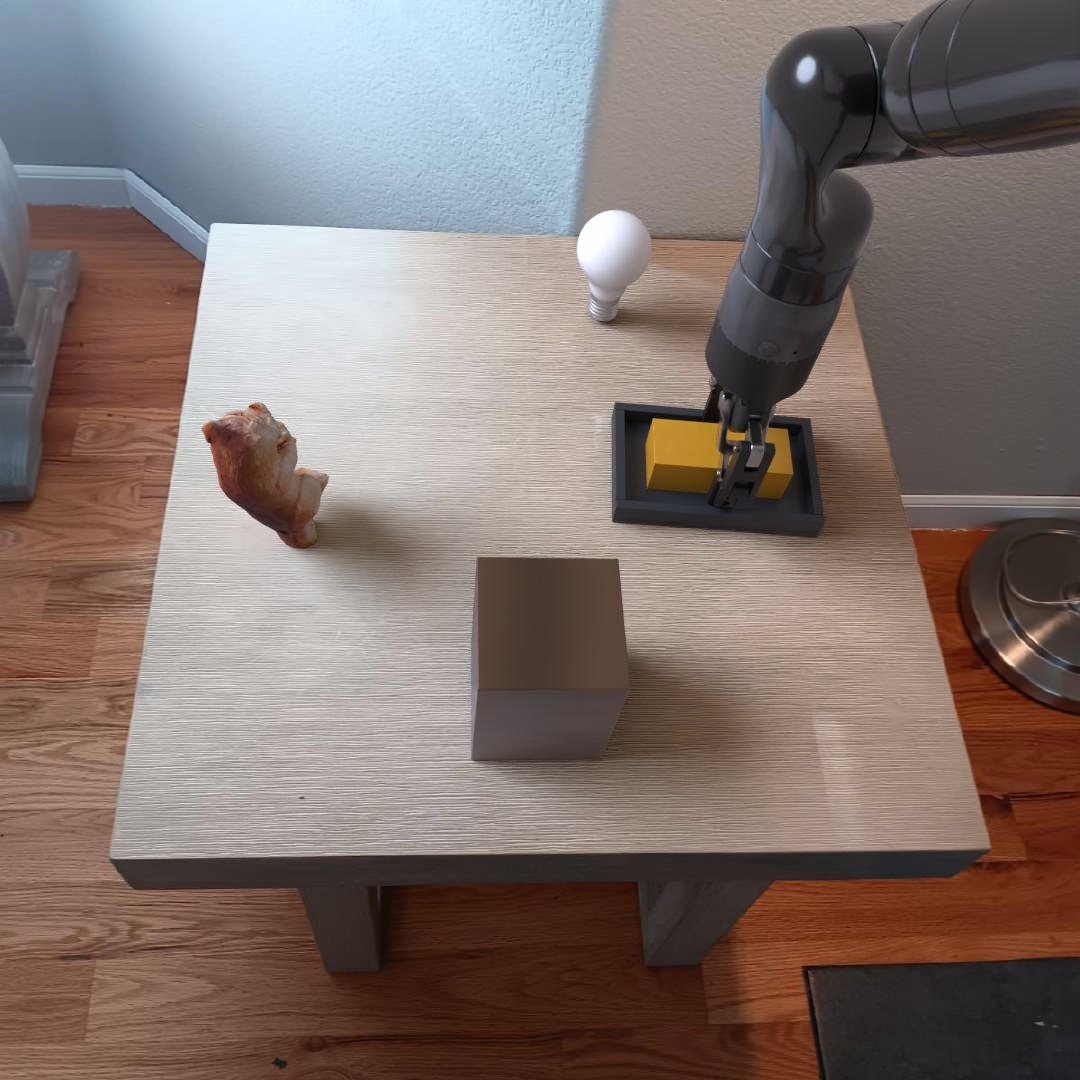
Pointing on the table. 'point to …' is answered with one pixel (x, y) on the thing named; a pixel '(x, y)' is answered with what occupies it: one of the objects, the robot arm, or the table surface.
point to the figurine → (266, 473)
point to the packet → (705, 457)
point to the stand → (546, 658)
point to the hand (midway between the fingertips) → (716, 461)
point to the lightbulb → (612, 258)
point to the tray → (690, 509)
